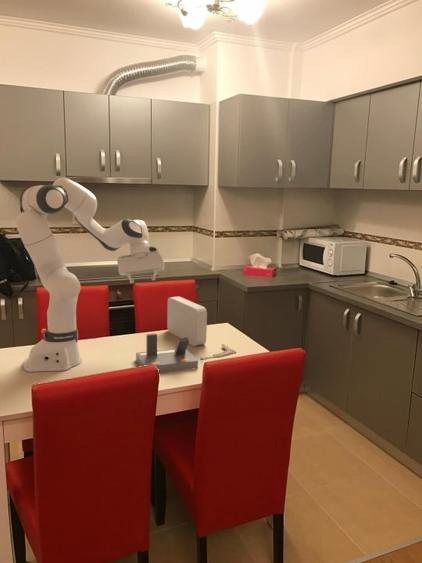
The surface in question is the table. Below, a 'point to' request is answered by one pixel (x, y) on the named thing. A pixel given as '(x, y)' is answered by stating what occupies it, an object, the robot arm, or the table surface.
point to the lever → (181, 346)
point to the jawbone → (226, 353)
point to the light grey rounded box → (187, 320)
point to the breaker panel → (168, 360)
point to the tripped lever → (151, 345)
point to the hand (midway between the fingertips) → (142, 281)
